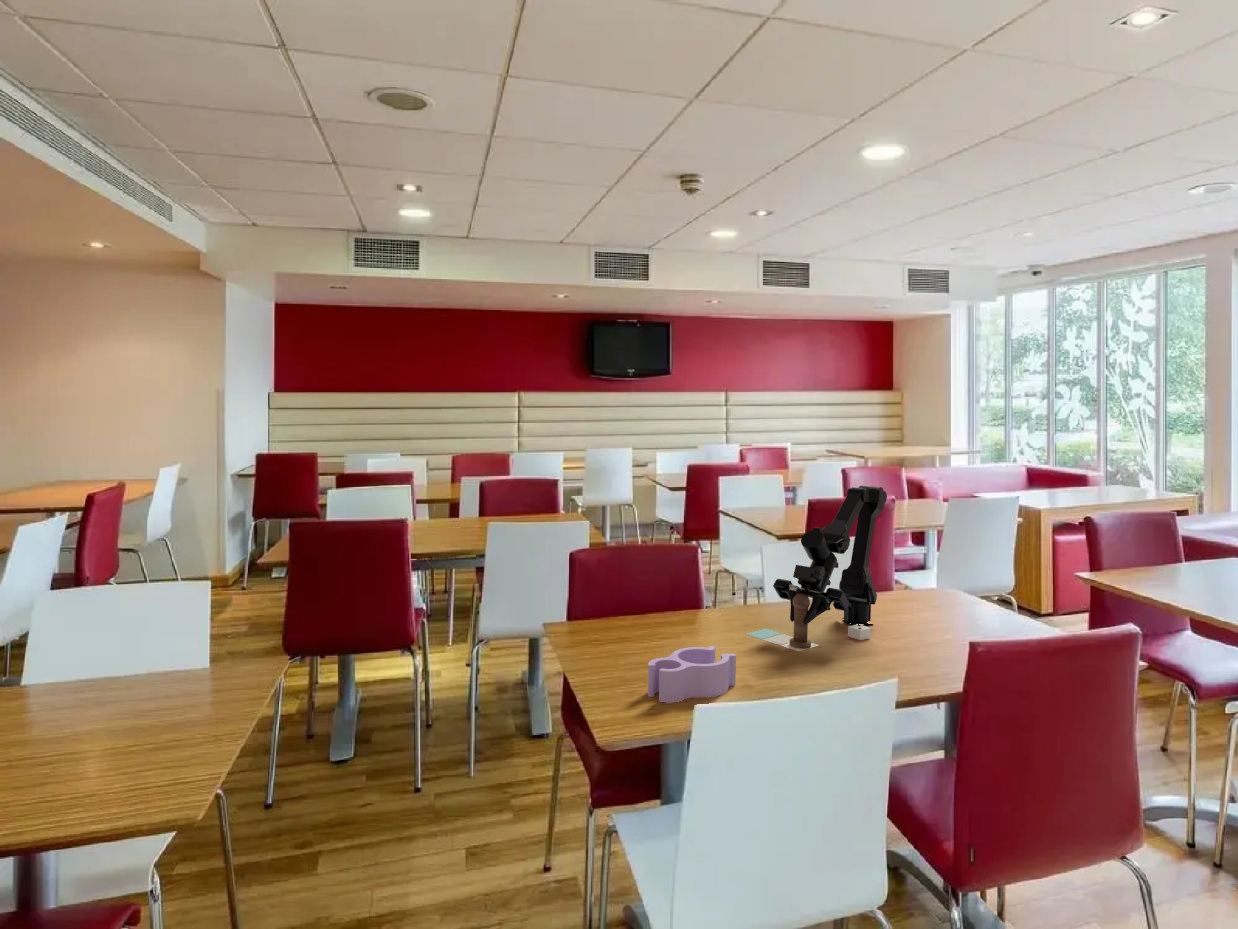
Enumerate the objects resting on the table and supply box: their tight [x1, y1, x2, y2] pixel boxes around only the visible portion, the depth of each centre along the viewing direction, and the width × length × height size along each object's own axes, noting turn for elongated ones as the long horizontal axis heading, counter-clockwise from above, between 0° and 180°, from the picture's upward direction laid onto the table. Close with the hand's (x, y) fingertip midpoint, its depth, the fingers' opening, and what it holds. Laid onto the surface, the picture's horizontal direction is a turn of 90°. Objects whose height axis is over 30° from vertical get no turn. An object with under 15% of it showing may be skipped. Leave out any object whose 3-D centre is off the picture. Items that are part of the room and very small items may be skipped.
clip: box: [647, 645, 737, 704], centre depth 160 cm, size 20×12×7 cm, turn 125°
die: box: [847, 624, 872, 641], centre depth 194 cm, size 4×4×4 cm
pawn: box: [790, 594, 812, 650], centre depth 186 cm, size 5×5×13 cm
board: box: [746, 628, 820, 652], centre depth 191 cm, size 19×9×1 cm, turn 38°
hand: (798, 622), depth 185 cm, fingers closed on pawn, 3 cm apart
